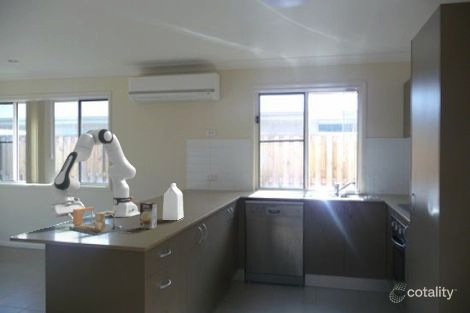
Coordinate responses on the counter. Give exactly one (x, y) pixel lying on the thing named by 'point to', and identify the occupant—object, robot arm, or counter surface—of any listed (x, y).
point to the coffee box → (148, 215)
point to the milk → (173, 204)
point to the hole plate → (107, 229)
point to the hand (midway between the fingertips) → (74, 219)
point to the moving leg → (81, 215)
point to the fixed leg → (98, 222)
